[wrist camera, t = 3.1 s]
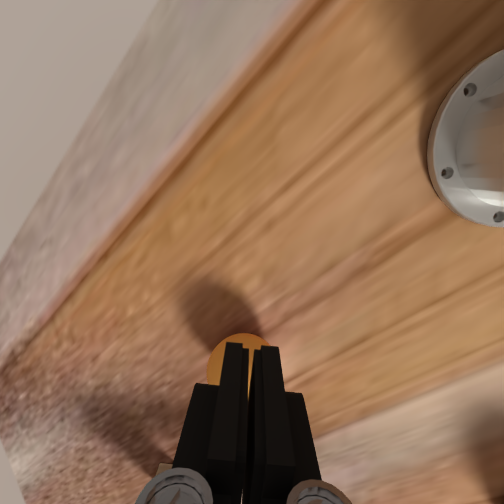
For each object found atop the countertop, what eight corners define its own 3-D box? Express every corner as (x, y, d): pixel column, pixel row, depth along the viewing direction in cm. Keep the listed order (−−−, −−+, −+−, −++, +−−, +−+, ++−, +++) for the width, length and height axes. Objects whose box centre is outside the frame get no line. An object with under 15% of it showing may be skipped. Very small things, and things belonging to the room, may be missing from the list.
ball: (214, 316, 26) (203, 357, 21) (281, 323, 27) (288, 366, 21) (210, 374, 28) (198, 426, 22) (273, 380, 28) (277, 434, 22)
